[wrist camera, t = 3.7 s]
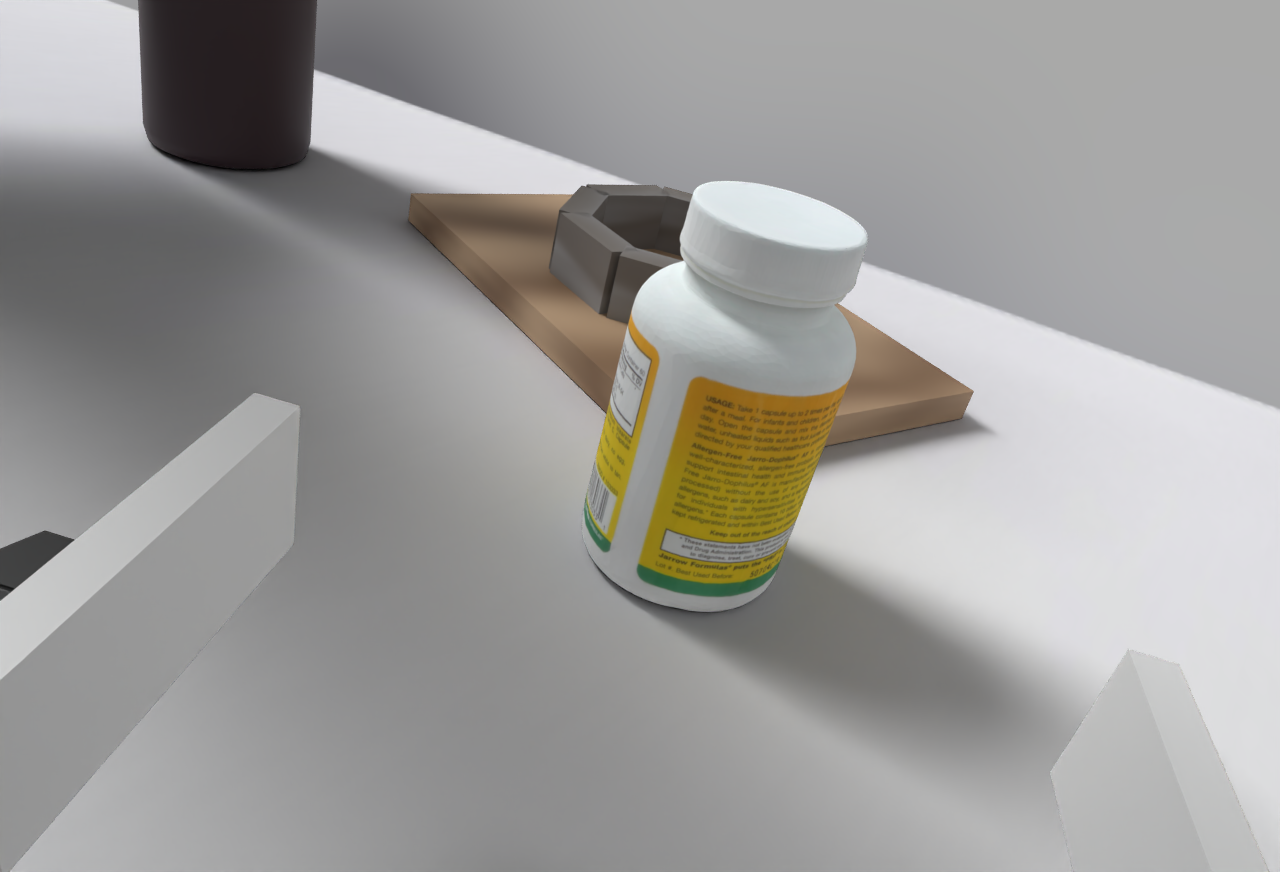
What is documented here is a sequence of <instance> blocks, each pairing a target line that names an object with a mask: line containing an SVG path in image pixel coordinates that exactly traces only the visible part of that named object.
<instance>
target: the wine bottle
mask: <svg viewBox="0 0 1280 872" xmlns="http://www.w3.org/2000/svg"><path fill="white" fill-rule="evenodd" d="M138 5H139V32H140V57H141V83H142V108H143V124H144V128H145V131H146V134H147V137H148V139H149V141H150V142H151V143H152V144H153V145H155V146H156V147H158V148H160V149H161V150H163V151H165V152H168V153H170V154H173V155H175V156H177V157H180V158H183V159H186V160H189V161H192V162H196V163H201V164H205V165H210V166H216V167H223V168H233V169H269V168H277V167H282V166H286V165H291V164H294V163H296V162H299V161H301V160H302V159H303V158H305V156H306V154H307V151H308V148H309V145H310V138H311V117H312V96H313V74H314V53H315V31H316V30H315V29H316V9H317V0H138Z"/></svg>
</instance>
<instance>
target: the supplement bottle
mask: <svg viewBox="0 0 1280 872" xmlns="http://www.w3.org/2000/svg"><path fill="white" fill-rule="evenodd" d="M680 243H681V247H680V252H681V256H682V258H683V259H684V261H682V262H678V263H674V264H672V265H669V266H667V267H665V268H663V269H661V270H659V271H657V272H656V273H655V274H653V275H652V276H651V277H650V278H649V279H648V280H647V281H646V282H645V283H644V284H643V285H642V287H641V288H640V290H639V292H638V294H637V296H636V298H635V301H634V304H633V307H632V311H631V315H630V319H629V323H628V326H627V330H626V335H625V339H624V342H623V346H622V350H621V355H620V359H619V363H618V367H617V372H616V376H615V380H614V384H613V388H612V393H611V398H610V402H609V406H608V410H607V414H606V419H605V423H604V427H603V431H602V435H601V439H600V443H599V447H598V451H597V454H596V458H595V463H594V467H593V471H592V475H591V479H590V483H589V487H588V491H587V495H586V499H585V505H584V509H583V514H582V534H583V539H584V543H585V546H586V548H587V550H588V552H589V554H590V556H591V558H592V559H593V561H594V562H595V564H596V565H597V566H598V567H599V568H600V569H601V570H602V571H603V573H605V574H606V575H607V576H608V577H609V578H610V579H611V580H612V581H614V582H615V583H616V584H618V585H619V586H621V587H622V588H624V589H625V590H627V591H629V592H631V593H633V594H635V595H636V596H639V597H641V598H643V599H645V600H648V601H650V602H654V603H657V604H660V605H664V606H669V607H675V608H680V609H684V610H689V611H697V612H715V611H724V610H729V609H733V608H736V607H739V606H742V605H744V604H746V603H748V602H750V601H752V600H753V599H755V598H756V597H758V596H759V595H760V594H761V593H762V592H763V591H764V590H766V589H767V588H768V586H769V585H770V583H771V582H772V580H773V578H774V576H775V573H776V570H777V568H778V565H779V563H780V561H781V558H782V556H783V553H784V550H785V547H786V545H787V542H788V540H789V537H790V535H791V533H792V530H793V528H794V525H795V522H796V519H797V517H798V514H799V512H800V509H801V506H802V504H803V501H804V498H805V496H806V493H807V491H808V488H809V485H810V482H811V480H812V477H813V474H814V472H815V469H816V466H817V464H818V461H819V458H820V456H821V453H822V451H823V448H824V446H825V443H826V440H827V437H828V435H829V432H830V429H831V427H832V424H833V421H834V419H835V416H836V414H837V411H838V408H839V406H840V403H841V400H842V398H843V395H844V393H845V390H846V387H847V385H848V382H849V380H850V377H851V374H852V371H853V368H854V365H855V360H856V342H855V338H854V334H853V331H852V329H851V327H850V325H849V323H848V321H847V319H846V318H845V317H844V315H843V314H842V313H841V311H840V310H839V309H838V308H837V307H836V306H835V304H837V303H839V302H841V301H842V300H843V299H844V297H845V296H846V294H847V293H849V292H850V291H851V290H852V289H853V288H854V286H855V284H856V279H857V275H858V272H859V269H860V266H861V263H862V260H863V257H864V253H865V250H866V247H867V243H868V236H867V233H866V231H865V229H864V228H863V227H862V226H861V225H860V224H859V223H858V222H857V221H856V220H854V219H853V218H851V217H850V216H848V215H847V214H844V213H843V212H841V211H839V210H838V209H836V208H834V207H832V206H830V205H828V204H826V203H823V202H821V201H818V200H815V199H812V198H810V197H807V196H804V195H801V194H797V193H795V192H792V191H788V190H784V189H780V188H776V187H771V186H767V185H762V184H756V183H747V182H737V181H719V182H709V183H706V184H703V185H701V186H699V187H697V188H696V189H695V191H694V193H693V195H692V198H691V202H690V205H689V209H688V212H687V216H686V220H685V223H684V227H683V229H682V232H681V235H680Z"/></svg>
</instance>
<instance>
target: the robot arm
mask: <svg viewBox="0 0 1280 872" xmlns="http://www.w3.org/2000/svg"><path fill="white" fill-rule="evenodd" d="M300 408H301V406H299V405H296V404H292V403H289V402H285V401H282V400H279V399H275V398H272V397H268V396H265V395H262V394H258V393H253V394H252V395H251V396H250V397H249V398H247V399H246V400H245V401H244V402H242V403H241V404H240V405H239V406H238V407H236V408H235V409H234V410H233V411H231V412H230V413H229V414H228V415H227V416H225V417H224V418H223V419H222V420H220V421H219V422H218V423H217V424H216V425H214V426H213V427H212V428H211V429H209V430H208V431H207V432H206V433H205V434H203V435H202V436H201V437H200V438H198V439H197V440H196V441H195V442H194V443H192V444H191V445H190V446H189V447H188V448H186V449H185V450H184V451H183V452H181V453H180V454H179V455H178V456H177V457H175V458H174V459H173V460H172V461H170V462H169V463H168V464H167V465H166V466H164V467H163V468H162V469H161V470H159V471H158V472H157V473H156V474H155V475H153V476H152V477H151V478H150V479H148V480H147V481H146V482H145V483H144V484H142V485H141V486H140V487H139V488H138V489H136V490H135V491H134V492H133V493H131V494H130V495H129V496H128V497H127V498H125V499H124V500H123V501H122V502H120V503H119V504H118V505H117V506H116V507H114V508H113V509H112V510H111V511H109V512H108V513H107V514H106V515H105V516H103V517H102V518H101V519H100V520H98V521H97V522H96V523H95V524H94V525H92V526H91V527H90V528H89V529H88V530H86V531H85V532H84V533H83V534H81V535H80V536H79V537H78V538H77V539H75V540H74V539H71V538H68V537H64V536H61V535H58V534H55V533H51V532H48V531H43V532H40V533H38V534H35V535H33V536H30V537H28V538H25V539H23V540H20V541H18V542H16V543H13V544H11V545H8V546H6V547H3V548H1V549H0V872H9V871H10V870H11V869H12V868H13V867H14V866H15V865H16V863H17V862H18V861H19V860H20V859H21V858H22V856H23V855H24V854H25V853H26V852H27V851H28V850H29V848H30V847H31V846H32V845H33V844H34V843H35V841H36V840H37V839H38V838H39V837H40V836H41V835H42V833H43V832H44V831H45V830H46V829H47V828H48V827H49V825H50V824H51V823H52V822H53V821H54V820H55V818H56V817H57V816H58V815H59V814H60V813H61V812H62V810H63V809H64V808H65V807H66V806H67V805H68V804H69V802H70V801H71V800H72V799H73V798H74V797H75V795H76V794H77V793H78V792H79V791H80V790H81V789H82V787H83V786H84V785H85V784H86V783H87V782H88V780H89V779H90V778H91V777H92V776H93V775H94V774H95V772H96V771H97V770H98V769H99V768H100V767H101V766H102V764H103V763H104V762H105V761H106V760H107V759H108V757H109V756H110V755H111V754H112V753H113V752H114V751H115V749H116V748H117V747H118V746H119V745H120V744H121V743H122V741H123V740H124V739H125V738H126V737H127V736H128V734H129V733H130V732H131V731H132V730H133V729H134V728H135V726H136V725H137V724H138V723H139V722H140V721H141V719H142V718H143V717H144V716H145V715H146V714H147V713H148V711H149V710H150V709H151V708H152V707H153V706H154V705H155V703H156V702H157V701H158V700H159V699H160V698H161V696H162V695H163V694H164V693H165V692H166V691H167V690H168V688H169V687H170V686H171V685H172V684H173V683H174V682H175V680H176V679H177V678H178V677H179V676H180V675H181V673H182V672H183V671H184V670H185V669H186V668H187V667H188V665H189V664H190V663H191V662H192V661H193V660H194V658H195V657H196V656H197V655H198V654H199V653H200V652H201V650H202V649H203V648H204V647H205V646H206V645H207V644H208V642H209V641H210V640H211V639H212V638H213V637H214V635H215V634H216V633H217V632H218V631H219V630H220V629H221V627H222V626H223V625H224V624H225V623H226V622H227V621H228V619H229V618H230V617H231V616H232V615H233V614H234V612H235V611H236V610H237V609H238V608H239V607H240V606H241V604H242V603H243V602H244V601H245V600H246V599H247V597H248V596H249V595H250V594H251V593H252V592H253V591H254V589H255V588H256V587H257V586H258V585H259V584H260V583H261V581H262V580H263V579H264V578H265V577H266V576H267V574H268V573H269V572H270V571H271V570H272V569H273V568H274V566H275V565H276V564H277V563H278V562H279V561H280V560H281V558H282V557H283V556H284V555H285V554H286V553H287V551H288V550H289V549H290V548H291V547H292V546H293V545H294V532H295V511H296V490H297V470H298V449H299V428H300ZM1050 775H1051V779H1052V784H1053V788H1054V792H1055V797H1056V801H1057V805H1058V810H1059V814H1060V818H1061V823H1062V827H1063V831H1064V836H1065V840H1066V844H1067V849H1068V853H1069V857H1070V862H1071V866H1072V870H1073V872H1269V870H1268V868H1267V865H1266V863H1265V861H1264V858H1263V856H1262V854H1261V851H1260V849H1259V847H1258V844H1257V842H1256V840H1255V838H1254V835H1253V833H1252V831H1251V828H1250V826H1249V824H1248V821H1247V819H1246V817H1245V815H1244V812H1243V810H1242V808H1241V805H1240V803H1239V801H1238V798H1237V796H1236V794H1235V792H1234V789H1233V787H1232V785H1231V782H1230V780H1229V778H1228V775H1227V773H1226V771H1225V768H1224V766H1223V764H1222V762H1221V759H1220V757H1219V755H1218V752H1217V750H1216V748H1215V745H1214V743H1213V741H1212V739H1211V736H1210V734H1209V732H1208V729H1207V727H1206V725H1205V722H1204V720H1203V718H1202V716H1201V713H1200V711H1199V709H1198V706H1197V704H1196V702H1195V699H1194V697H1193V695H1192V692H1191V690H1190V688H1189V686H1188V683H1187V681H1186V679H1185V676H1184V674H1183V672H1182V669H1181V667H1180V665H1179V664H1177V663H1174V662H1170V661H1167V660H1163V659H1160V658H1157V657H1153V656H1150V655H1146V654H1143V653H1140V652H1136V651H1133V650H1129V649H1128V651H1127V652H1126V654H1125V655H1124V657H1123V658H1122V660H1121V662H1120V663H1119V665H1118V666H1117V668H1116V669H1115V671H1114V673H1113V674H1112V676H1111V677H1110V679H1109V680H1108V682H1107V684H1106V685H1105V687H1104V688H1103V690H1102V691H1101V693H1100V695H1099V696H1098V698H1097V699H1096V701H1095V702H1094V704H1093V706H1092V707H1091V709H1090V710H1089V712H1088V713H1087V715H1086V717H1085V718H1084V720H1083V721H1082V723H1081V724H1080V726H1079V728H1078V729H1077V731H1076V732H1075V734H1074V735H1073V737H1072V739H1071V740H1070V742H1069V743H1068V745H1067V746H1066V748H1065V750H1064V751H1063V753H1062V754H1061V756H1060V757H1059V759H1058V761H1057V762H1056V764H1055V765H1054V767H1053V768H1052V770H1051V772H1050Z"/></svg>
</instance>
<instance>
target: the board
mask: <svg viewBox="0 0 1280 872" xmlns="http://www.w3.org/2000/svg"><path fill="white" fill-rule="evenodd" d="M692 195H693V194H689V193H686V192H682V191H679V190H675V189H671V188H668V187H664V188H663V189H661V188H660V187H658V186H655V185H587V186H586V187H585V186H581V187H580V188H579V189H578V190H577V191H576V192H575V193H574V194H573V195H563V194H412V193H411V198H410V208H409V218H408V220H409V221H410V222H411V223H412V224H413V225H414V226H415V227H416V228H417V229H418V230H419V231H420V232H421V233H422V234H423V235H424V236H425V237H426V238H427V239H428V240H429V241H430V242H431V243H432V244H433V245H434V246H435V247H436V248H437V249H438V250H439V251H440V252H441V253H443V254H444V255H445V256H446V257H447V258H448V259H449V260H450V261H451V262H452V263H453V264H454V265H455V266H456V267H457V268H458V269H459V270H460V271H461V272H462V273H463V274H464V275H465V276H466V277H467V278H468V279H469V280H470V281H471V282H472V283H473V284H474V285H475V286H476V287H477V288H479V289H480V290H481V291H482V292H483V293H484V294H485V295H486V296H487V297H488V298H489V299H490V300H491V301H492V302H493V303H494V304H495V305H496V306H497V307H498V308H499V309H500V310H501V311H502V312H503V313H504V314H505V315H506V316H507V317H508V318H509V319H510V320H511V321H512V322H513V323H515V324H516V325H517V326H518V327H519V328H520V329H521V330H522V331H523V332H524V333H525V334H526V335H527V336H528V337H529V338H530V339H531V340H532V341H533V342H534V343H535V344H536V345H537V346H538V347H539V348H540V349H541V350H542V351H543V352H544V353H545V354H546V355H547V356H548V357H549V358H551V359H552V360H553V361H554V362H555V363H556V364H557V365H558V366H559V367H560V368H561V369H562V370H563V371H564V372H565V373H566V374H567V375H568V376H569V377H570V378H571V379H572V380H573V381H574V382H575V383H576V384H577V385H578V386H579V387H580V388H581V389H582V390H583V391H584V392H585V393H587V394H588V395H589V396H590V397H591V398H592V399H593V400H594V401H595V402H596V403H597V404H598V405H599V406H600V407H601V408H602V409H603V410H604V411H605V412H606V413H607V410H608V406H609V402H610V398H611V393H612V388H613V384H614V380H615V376H616V372H617V367H618V363H619V359H620V355H621V350H622V346H623V342H624V339H625V335H626V330H627V326H628V323H629V319H630V315H631V311H632V307H633V304H634V301H635V298H636V296H637V294H638V292H639V290H640V288H641V287H642V285H643V284H644V283H645V282H646V281H647V280H648V279H649V278H650V277H651V276H652V275H653V274H655V273H656V272H657V271H659V270H661V269H663V268H665V267H667V266H669V265H672V264H674V263H678V262H682V261H684V259H683V258H682V256H681V252H680V247H681V243H680V235H681V232H682V229H683V227H684V223H685V220H686V216H687V212H688V209H689V205H690V202H691V198H692ZM835 306H836V307H837V308H838V309H839V310H840V311H841V313H842V314H843V315H844V317H845V318H846V319H847V321H848V323H849V325H850V327H851V329H852V331H853V334H854V338H855V342H856V360H855V365H854V368H853V371H852V374H851V377H850V380H849V382H848V385H847V387H846V390H845V393H844V395H843V398H842V400H841V403H840V406H839V408H838V411H837V414H836V416H835V419H834V421H833V424H832V427H831V429H830V432H829V435H828V437H827V440H826V443H825V446H828V445H833V444H838V443H843V442H848V441H853V440H858V439H863V438H868V437H873V436H877V435H882V434H887V433H892V432H897V431H902V430H907V429H912V428H917V427H922V426H927V425H932V424H937V423H942V422H947V421H951V420H956V419H961V418H962V417H963V414H964V412H965V410H966V408H967V406H968V403H969V401H970V399H971V397H972V394H973V392H974V391H973V390H971V389H969V388H968V387H966V386H965V385H963V384H962V383H960V382H959V381H957V380H956V379H954V378H952V377H951V376H949V375H948V374H946V373H945V372H943V371H942V370H940V369H939V368H937V367H935V366H934V365H932V364H931V363H929V362H928V361H926V360H925V359H923V358H922V357H920V356H918V355H917V354H915V353H914V352H912V351H911V350H909V349H908V348H906V347H905V346H903V345H901V344H900V343H898V342H897V341H895V340H894V339H892V338H891V337H889V336H887V335H886V334H884V333H883V332H881V331H880V330H878V329H877V328H875V327H874V326H872V325H870V324H869V323H867V322H866V321H864V320H863V319H861V318H860V317H858V316H857V315H855V314H853V313H852V312H850V311H849V310H847V309H846V308H844V307H843V306H841V305H840V304H838V303H837V304H835Z"/></svg>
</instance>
